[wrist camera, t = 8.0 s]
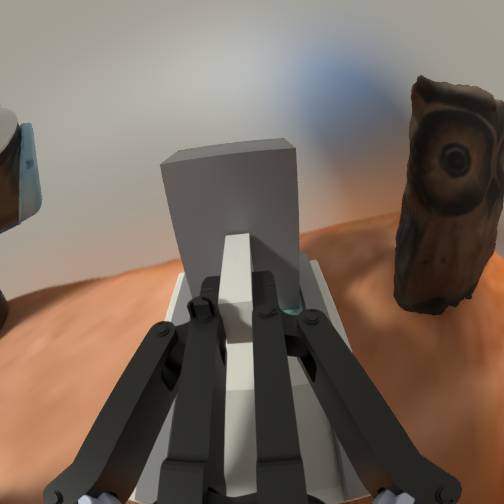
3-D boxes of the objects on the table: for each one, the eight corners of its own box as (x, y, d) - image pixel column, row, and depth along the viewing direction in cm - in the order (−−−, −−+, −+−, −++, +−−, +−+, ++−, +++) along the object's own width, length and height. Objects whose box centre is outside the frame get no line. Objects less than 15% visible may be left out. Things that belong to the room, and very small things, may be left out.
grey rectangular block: (299, 307, 21) (295, 148, 15) (197, 316, 21) (159, 164, 15) (290, 271, 25) (283, 138, 19) (204, 279, 25) (178, 150, 19)
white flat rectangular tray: (381, 492, 9) (399, 483, 8) (140, 503, 10) (116, 495, 8) (316, 275, 28) (316, 251, 27) (183, 288, 29) (177, 264, 27)
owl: (482, 272, 24) (510, 106, 14) (481, 344, 16) (546, 103, 6) (396, 245, 32) (405, 84, 22) (363, 303, 24) (377, 66, 14)
